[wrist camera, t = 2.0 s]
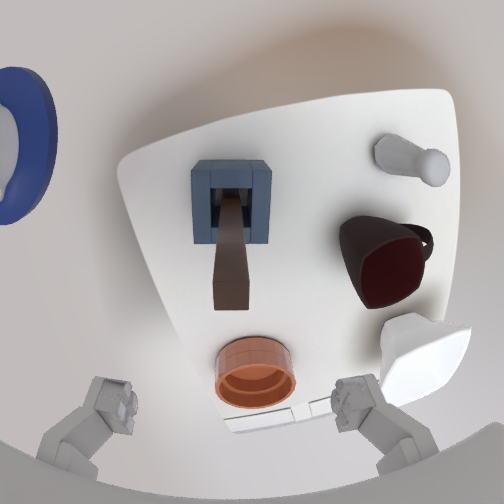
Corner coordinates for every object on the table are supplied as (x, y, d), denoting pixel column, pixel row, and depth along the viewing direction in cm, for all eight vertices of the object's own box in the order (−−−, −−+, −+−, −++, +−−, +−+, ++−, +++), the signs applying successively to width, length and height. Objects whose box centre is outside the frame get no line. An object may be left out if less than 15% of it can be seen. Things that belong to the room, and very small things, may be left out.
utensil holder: (200, 219, 38) (193, 244, 31) (199, 160, 35) (190, 170, 28) (261, 219, 39) (268, 244, 32) (263, 160, 35) (272, 170, 28)
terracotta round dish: (218, 382, 55) (217, 409, 48) (214, 335, 48) (212, 364, 42) (285, 380, 56) (290, 406, 49) (293, 333, 49) (301, 361, 43)
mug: (321, 215, 39) (352, 252, 29) (400, 189, 38) (448, 216, 27) (333, 270, 44) (361, 318, 33) (405, 244, 43) (445, 280, 32)
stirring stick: (223, 197, 37) (214, 310, 16) (223, 183, 36) (212, 281, 15) (238, 197, 37) (248, 310, 16) (238, 183, 37) (249, 281, 15)
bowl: (359, 303, 47) (390, 358, 35) (440, 281, 47) (479, 322, 35) (351, 367, 56) (371, 416, 43) (422, 344, 56) (448, 385, 43)
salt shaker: (369, 172, 37) (420, 197, 25) (366, 133, 34) (421, 144, 23) (401, 169, 37) (456, 193, 25) (400, 132, 34) (458, 145, 22)
